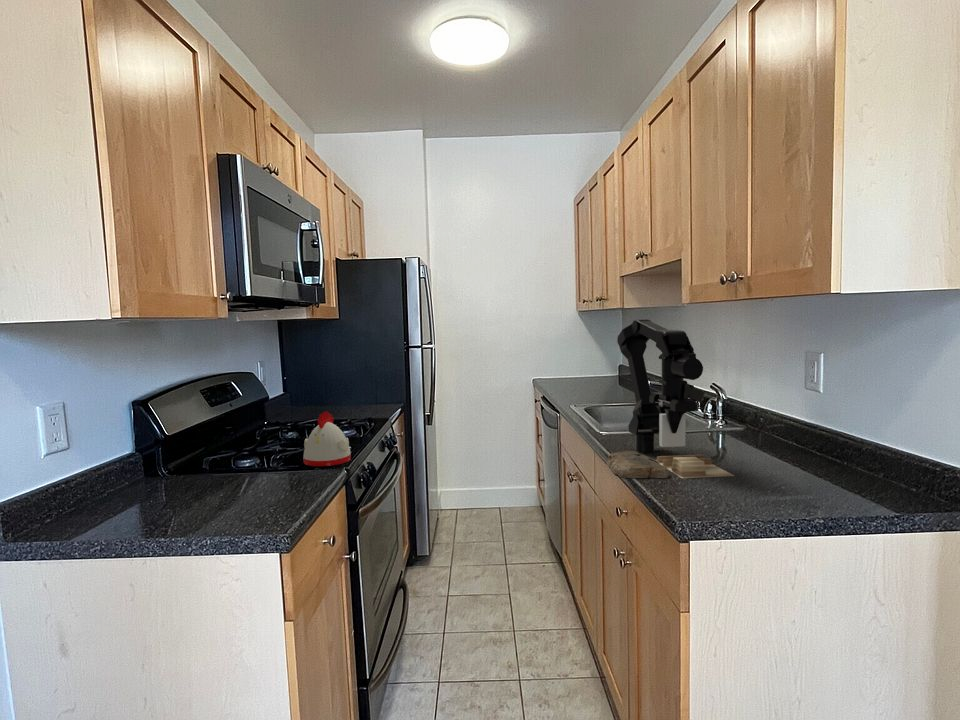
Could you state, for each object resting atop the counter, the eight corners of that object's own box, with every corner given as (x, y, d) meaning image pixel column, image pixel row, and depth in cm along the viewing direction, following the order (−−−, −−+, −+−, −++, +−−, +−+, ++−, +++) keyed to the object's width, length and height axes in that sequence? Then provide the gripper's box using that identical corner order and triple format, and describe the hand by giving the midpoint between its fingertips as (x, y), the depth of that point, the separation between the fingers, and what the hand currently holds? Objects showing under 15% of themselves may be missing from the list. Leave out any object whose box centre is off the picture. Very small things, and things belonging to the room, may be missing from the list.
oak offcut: (672, 466, 145) (672, 461, 144) (694, 465, 145) (694, 460, 145) (681, 472, 139) (681, 467, 139) (705, 471, 139) (705, 466, 139)
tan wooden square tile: (671, 470, 145) (671, 466, 145) (694, 469, 145) (694, 465, 145) (681, 476, 139) (681, 472, 139) (705, 475, 139) (705, 471, 139)
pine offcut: (672, 462, 144) (672, 457, 144) (694, 461, 145) (694, 456, 145) (681, 467, 139) (681, 462, 139) (704, 466, 140) (704, 461, 139)
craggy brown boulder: (599, 463, 159) (615, 482, 139) (600, 446, 158) (616, 463, 138) (648, 463, 158) (671, 482, 138) (648, 446, 158) (671, 463, 138)
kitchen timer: (294, 465, 162) (292, 415, 161) (318, 454, 175) (316, 408, 174) (337, 467, 159) (335, 416, 158) (358, 455, 172) (356, 408, 171)
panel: (659, 445, 152) (659, 413, 152) (682, 444, 153) (682, 412, 152) (662, 447, 150) (662, 414, 150) (685, 446, 151) (685, 414, 150)
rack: (653, 463, 156) (653, 455, 156) (701, 461, 157) (701, 453, 157) (681, 481, 138) (681, 472, 138) (735, 478, 139) (735, 470, 139)
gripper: (717, 379, 142) (717, 438, 143) (685, 372, 160) (685, 425, 161) (676, 380, 141) (676, 439, 142) (648, 373, 159) (648, 426, 160)
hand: (672, 432), depth 151 cm, fingers closed on panel, 2 cm apart
